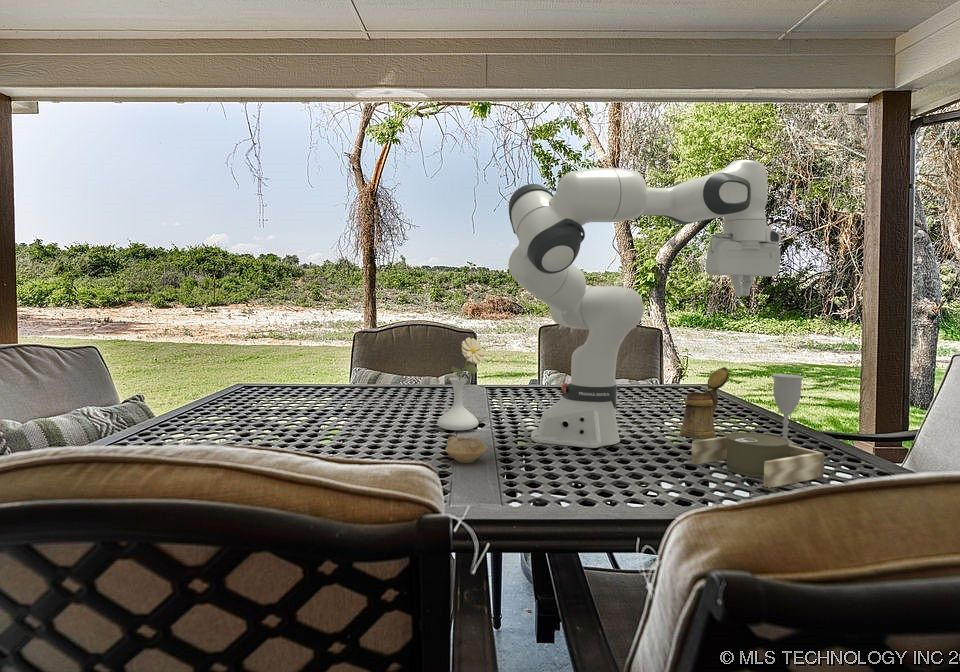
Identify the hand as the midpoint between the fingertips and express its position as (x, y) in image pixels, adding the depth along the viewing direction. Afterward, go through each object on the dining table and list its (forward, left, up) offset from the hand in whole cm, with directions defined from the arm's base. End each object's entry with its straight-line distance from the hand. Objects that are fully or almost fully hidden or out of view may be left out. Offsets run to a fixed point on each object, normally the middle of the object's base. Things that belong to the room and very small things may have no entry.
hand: (742, 296), depth 137 cm
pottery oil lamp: (-61, -16, -37) cm, 73 cm away
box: (+1, -11, -37) cm, 39 cm away
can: (+1, -11, -37) cm, 39 cm away
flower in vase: (-68, +14, -37) cm, 78 cm away
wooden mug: (-3, +22, -37) cm, 43 cm away
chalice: (+13, +9, -37) cm, 40 cm away
